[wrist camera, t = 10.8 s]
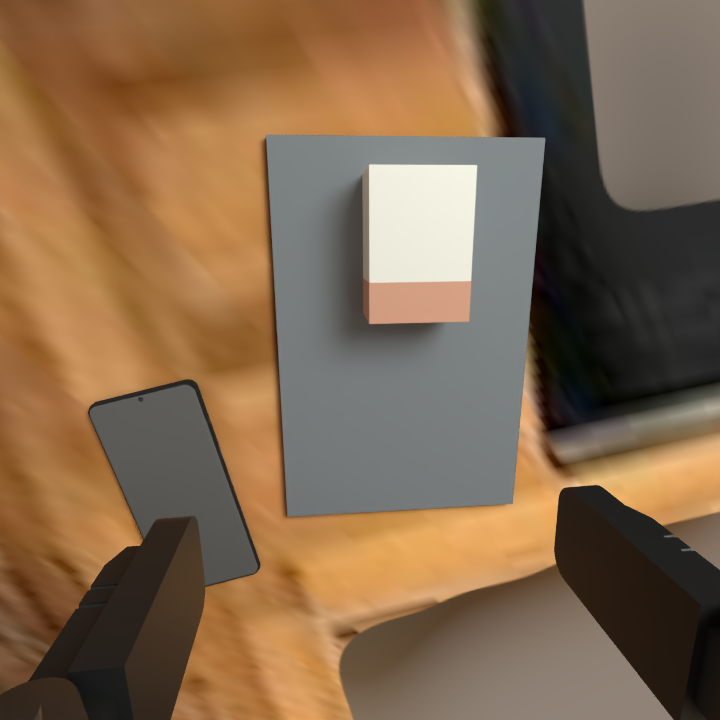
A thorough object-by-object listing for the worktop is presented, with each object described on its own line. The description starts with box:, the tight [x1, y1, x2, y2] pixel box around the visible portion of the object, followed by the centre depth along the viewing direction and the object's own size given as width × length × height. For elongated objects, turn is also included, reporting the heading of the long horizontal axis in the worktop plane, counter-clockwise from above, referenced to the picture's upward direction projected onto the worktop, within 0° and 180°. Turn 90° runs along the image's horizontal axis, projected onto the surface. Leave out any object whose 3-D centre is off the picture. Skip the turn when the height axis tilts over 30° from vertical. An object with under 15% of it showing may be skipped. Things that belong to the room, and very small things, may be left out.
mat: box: [266, 135, 545, 517], centre depth 29 cm, size 24×16×1 cm, turn 1°
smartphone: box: [88, 380, 260, 587], centre depth 30 cm, size 7×1×15 cm
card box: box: [362, 164, 477, 324], centre depth 25 cm, size 8×6×4 cm
